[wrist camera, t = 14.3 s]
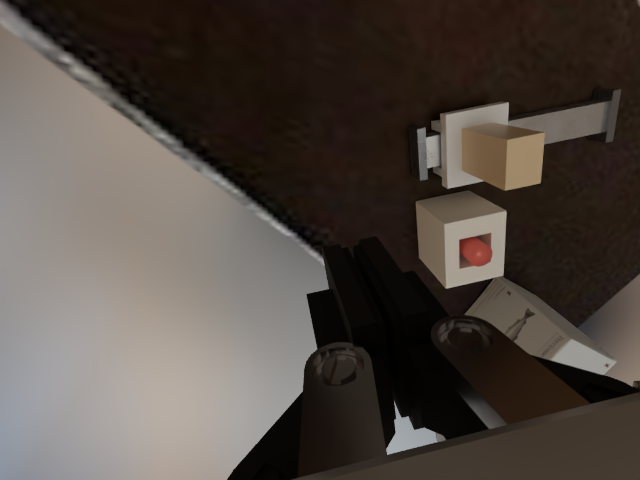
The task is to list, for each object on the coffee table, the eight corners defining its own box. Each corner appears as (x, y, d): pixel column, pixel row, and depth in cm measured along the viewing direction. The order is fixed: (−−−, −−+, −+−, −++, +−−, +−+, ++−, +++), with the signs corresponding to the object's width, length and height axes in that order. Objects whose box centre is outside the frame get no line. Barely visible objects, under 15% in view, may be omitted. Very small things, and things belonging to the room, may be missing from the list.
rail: (408, 126, 37) (417, 129, 35) (600, 88, 38) (621, 89, 36) (411, 175, 39) (420, 180, 37) (593, 137, 40) (612, 141, 38)
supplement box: (495, 271, 45) (574, 336, 34) (535, 294, 48) (622, 362, 36) (458, 316, 47) (521, 392, 36) (498, 336, 50) (569, 414, 38)
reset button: (445, 228, 38) (470, 248, 34) (465, 223, 39) (492, 243, 34) (446, 246, 39) (470, 268, 35) (465, 242, 40) (492, 263, 35)
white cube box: (415, 201, 40) (444, 224, 34) (474, 188, 41) (513, 209, 34) (419, 257, 43) (446, 288, 37) (473, 245, 43) (510, 274, 37)
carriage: (430, 111, 36) (488, 123, 27) (488, 100, 37) (565, 107, 27) (433, 180, 39) (486, 211, 30) (487, 169, 40) (556, 197, 30)
